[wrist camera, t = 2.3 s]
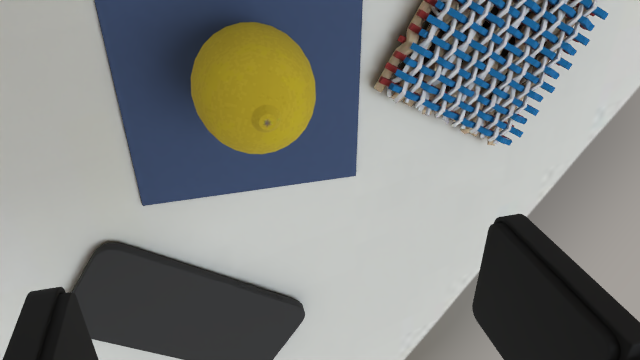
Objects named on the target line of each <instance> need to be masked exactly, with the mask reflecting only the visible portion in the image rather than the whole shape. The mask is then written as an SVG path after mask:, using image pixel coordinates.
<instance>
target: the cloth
mask: <svg viewBox="0 0 640 360" xmlns="http://www.w3.org/2000/svg"><path fill="white" fill-rule="evenodd" d="M94 1H95V5H96V9H97V13H98V18H99V22H100V26H101V30H102V35H103V39H104V43H105V48H106V52H107V56H108V60H109V65H110V69H111V73H112V77H113V82H114V86H115V90H116V94H117V99H118V103H119V107H120V111H121V116H122V120H123V124H124V128H125V133H126V137H127V141H128V145H129V150H130V154H131V158H132V162H133V167H134V171H135V175H136V180H137V184H138V188H139V192H140V197H141V201H142V205H143V206H145V205H152V204H159V203H166V202H173V201H180V200H187V199H194V198H201V197H209V196H216V195H223V194H230V193H237V192H244V191H251V190H258V189H265V188H272V187H279V186H287V185H294V184H301V183H308V182H315V181H322V180H329V179H336V178H343V177H350V176H356V155H357V130H358V104H359V79H360V53H361V27H362V2H363V0H94ZM240 22H257V23H261V24H266V25H270V26H273V27H274V28H276V29H278V30H280V31H282V32H284V33H286V34H287V35H288V36H289V37H290V38H291V39H292V40H294V41H295V42H296V43H297V44H298V45H299V46H300V48H301V49H302V51H303V53H304V54H305V56H306V57H307V59H308V61H309V63H310V65H311V69H312V72H313V75H314V79H315V90H316V101H315V106H314V110H313V115H312V117H311V119H310V121H309V123H308V125H307V127H306V129H305V130H304V131H303V133H302V134H301V135H300V136H299V137H298V138H297V139H296V140H295V141H293V142H292V143H291V144H289V145H288V146H287V147H284V148H282V149H280V150H278V151H275V152H271V153H266V154H248V153H244V152H240V151H236V150H234V149H232V148H230V147H228V146H226V145H224V144H223V143H221V142H220V141H219V140H218V139H217V138H216V137H215V136H213V135H212V134H211V133H210V132H209V131H208V130H207V128H206V127H205V125H204V123H203V122H202V120H201V119H200V117H199V116H198V114H197V112H196V108H195V105H194V102H193V99H192V95H191V73H192V69H193V65H194V61H195V58H196V57H197V55H198V53H199V51H200V49H201V47H202V46H203V44H204V43H205V42H206V41H207V40H208V39H209V38H210V37H211V36H212V35H213V34H215V33H216V32H218V31H220V30H221V29H223V28H225V27H227V26H230V25H233V24H237V23H240Z"/></svg>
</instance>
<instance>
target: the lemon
mask: <svg viewBox="0 0 640 360" xmlns="http://www.w3.org/2000/svg"><path fill="white" fill-rule="evenodd" d="M191 95H192V99H193V102H194V105H195V108H196V112H197V114H198V116H199V117H200V119H201V120H202V122H203V123H204V125H205V127H206V128H207V130H208V131H209V132H210V133H211V134H212V135H213V136H215V137H216V138H217V139H218V140H219V141H220V142H221V143H223V144H224V145H226V146H228V147H230V148H232V149H234V150H236V151H240V152H244V153H248V154H266V153H271V152H275V151H278V150H280V149H282V148H284V147H287V146H288V145H289V144H291V143H292V142H293V141H295V140H296V139H297V138H298V137H299V136H300V135H301V134H302V133H303V131H304V130H305V129H306V127H307V125H308V123H309V121H310V119H311V117H312V115H313V110H314V106H315V101H316V90H315V79H314V75H313V72H312V69H311V65H310V63H309V61H308V59H307V57H306V56H305V54H304V53H303V51H302V49H301V48H300V46H299V45H298V44H297V43H296V42H295V41H294V40H292V39H291V38H290V37H289V36H288V35H287V34H286V33H284V32H282V31H280V30H278V29H276V28H274V27H273V26H270V25H266V24H261V23H257V22H240V23H237V24H233V25H230V26H227V27H225V28H223V29H221V30H220V31H218V32H216V33H215V34H213V35H212V36H211V37H210V38H209V39H208V40H207V41H206V42H205V43H204V44H203V46H202V47H201V49H200V51H199V53H198V55H197V57H196V58H195V61H194V65H193V69H192V73H191Z"/></svg>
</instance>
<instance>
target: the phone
mask: <svg viewBox="0 0 640 360" xmlns="http://www.w3.org/2000/svg"><path fill="white" fill-rule="evenodd" d="M72 292H74V294H75V295H76V297H77V300H78V303H79V306H80V309H81V312H82V314H83V317H84V320H85V323H86V326H87V329H88V332H89V334H90V337H91V339H94V340H99V341H103V342H108V343H112V344H117V345H121V346H126V347H130V348H134V349H139V350H143V351H148V352H152V353H157V354H161V355H166V356H170V357H174V358H179V359H183V360H273V359H274V357H275V356H276V355H277V354H278V352H279V351H280V350H281V348H282V347H283V346H284V345H285V343H286V342H287V341H288V339H289V338H290V337H291V336H292V334H293V333H294V332H295V330H296V329H297V328H298V326H299V325H300V324H301V322H302V321H303V319H304V317H305V312H304V309H303V306H302V304H301V303H300V302H299V301H297V300H295V299H292V298H289V297H286V296H283V295H280V294H276V293H273V292H270V291H267V290H264V289H261V288H258V287H255V286H252V285H249V284H246V283H242V282H239V281H236V280H233V279H230V278H227V277H224V276H221V275H218V274H215V273H212V272H209V271H205V270H202V269H199V268H196V267H193V266H190V265H187V264H184V263H181V262H178V261H175V260H172V259H168V258H165V257H162V256H159V255H156V254H153V253H150V252H147V251H144V250H141V249H138V248H134V247H131V246H128V245H125V244H121V243H106V244H104V245H102V246H100V247H99V248H97V249H96V251H95V252H94V254H93V255H92V257H91V259H90V260H89V262H88V264H87V266H86V268H85V269H84V271H83V273H82V275H81V277H80V278H79V280H78V282H77V284H76V286H75V287H74V289H73V291H72Z"/></svg>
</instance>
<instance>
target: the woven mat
mask: <svg viewBox="0 0 640 360" xmlns="http://www.w3.org/2000/svg"><path fill="white" fill-rule="evenodd" d="M441 1H443V2H446V4H444V3H443V2H441ZM570 1H572V2H571V3H570ZM515 2H516V3H515ZM459 3H460V4H461V6H460V7H459ZM569 3H570V4H569ZM480 4H481V5H480ZM575 5H576V7H577V9H576V10H574V9H573V8H572V7H574V6H575ZM550 6H552V7H553V8H551V9H550V10H549V11H547V10H548V9H549V7H550ZM493 7H496V8H498V14H497V15H494V14H492V13H490V11H491V10H492V8H493ZM436 8H437V9H438V10H440V11H441V12H440V14H439V12H438V11H437V9H436ZM458 8H459V9H458ZM431 10H432V11H433V12H434V14H435V15H436V17H434V16H432V15H430V12H431ZM528 11H530V12H531V14H530V16H529V17H526V14H527V13H528ZM469 14H470V15H469ZM588 15H591V16H594V15H597V16H598V17H600V18H602V19H604V20H605V18H606V17H607V15H608V13H607V12H605V11H604V10H602V9H600V8H599V7H597V0H423V1H422V3H421V5H420V7H419V8H418V10H417V12H416V14H415V15H414V17H413V19H412V21H411V23H410V24H409V26H408V28H407V37H405V36H402V35H400V36H399V38H398V41H399V42H401V43H403V44H402V45H400V46H399V47H397V48H396V49H395V51H394V53H393V54H392V56H391V58H390V60H389V62H387V64H386V65H385V67H384V68H385V69H384V70H383V72H382V74H381V76H380V77H379V79H378V81H377V83H376V84H375V86H374V89H376V90H377V91H379V92H382V91H383V90H384V88H385V87H386V86H387V96H388V97H391V98H392V99H394V100H393V101H394V102H395V103H397V102H399V101H401V100H403V99H404V100H403V101H402V102H404V103H405V104H407V105H408V106H410V107H412V106H413V104H414V103H415V101H417V103H416V104H415V105H414V106H415V108H417V107H419V106H420V107H419V108H418V110H419V111H421V112H422V114H425V115H426V116H429V115H431V112H432V110H434V112H436V114H435V117H436V118H438V117H439V116H442V115H443V116H442V120H444V121H445V124H448V123H449V119H450V120H452V121H455V122H454V123H453V124H452V125H451V126H452V127H456V126H457V125H458V124H460V123H461V124H462V125H461V130H460V131H462V132H463V133H464V134H467V133H470V134H472V135H473V136H475V137H476V136H477V135H478V133H479V132H480V133H481V135H480V137H482V138H484V136H485V135H486V136H488V145H495V144H497V143H498V141H499V142H501V143H504V144H507V145H510V144H511V142H512V140H511V139H509V138H507V137H505V136H503V135H504V134H505V133H507V132H508V131H509V132H511V133H513V134H515V135H516V136H518V137H521V135H522V134H523V132H522V131H520V130H518V129H516V128H514V125H512V121H513V120H515V121H517V122H520V123H522V124H525V123H526V121H527V119H526V118H524V117H523V116H521V115H519V114H517V113H519V112H520V111H522V110H523V109H524V110H526V111H528V112H529V113H531V114H533V115H535V116H536V114H537V113H538V111H539V110H537V109H535V108H533V107H532V106H530V105H528V104H527V102H528V97H531V98H533V99H535V100H536V101H538V102H541V100H542V99H543V97H542V96H541V95H539V94H537V93H535V92H533V91H534V90H535V89H537V88H538V87H541V88H543V89H545V90H547V91H548V92H550V93H552V92H553V91H554V89H555V87H553V86H551V85H549V84H548V83H546V82H544V76H545V74H547V75H548V76H550V77H552V78H554V79H557V78H558V77H559V74H558V73H557V72H556V71H554V70H553V69H552V68H550V67H551V66H552V65H554V64H555V63H556V64H557V65H559V66H560V65H561V66H562V67H564V68H566V69H568V70H569V69H570V67H571V66H572V64H571V63H569V62H568V61H566V60H564V59H563V58H561V53H562V51H564V52H565V53H567V54H570V55H573V56H574V54H575V53H576V50H575V49H574V48H573V47H572V46H571V45H570V44H568V42H569V41H571V40H574V41H575V42H580V43H582V44H583V45H585V46H586V45H587V43H588V42H589V39H587V38H586V37H584V36H583V35H581V34H579V33H578V31H579V26H580V27H582V28H583V29H586V30H588V31H591V30H592V29H593V28H594V25H593V24H592V23H591V22H590V21H589V19H588V18H586V17H587V16H588ZM468 16H469V19H468V18H467V17H468ZM565 16H566V18H565ZM541 19H542V24H541V27H540V26H539V24H538V23H539V22H540V20H541ZM485 20H486V21H487V22H489V23H490V24H491V25H490V27H488V28H487V29H485V28H484V27H482V24H483V23H484V21H485ZM425 21H427V22H429V23H430V25H429V26H428V28H427V30H424V29H422V28H421V27H422V26H423V24H424V22H425ZM450 21H451V22H450ZM449 22H450V24H449V25H448V23H449ZM520 24H522V25H523V26H522V28H521V29H520V31H519V30H518V29H517V28H518V27H519V25H520ZM463 25H464V26H463ZM574 25H575V27H574V29H573V26H574ZM462 26H463V27H462ZM461 27H462V28H461ZM466 29H467V36H466V35H465V34H463V32H464V31H465V30H466ZM440 30H443V31H444V34H443V36H442V37H441V38H438V37H437V35H438V33H439V31H440ZM532 32H535V34H534V35H533V36H532V37H530V36H531V34H532ZM479 34H480V37H479ZM419 35H420V36H422V38H421V40H420V42H419V44H418V40H419ZM566 36H568V37H566ZM511 37H514V38H516V39H515V44H514V45H512V44H510V43H508V42H509V40H510V39H511ZM458 40H460V41H461V42H462V43H461V44H459V45H458ZM545 41H548V43H547V45H546V46H545V47H544V43H545ZM452 42H453V43H452ZM432 43H434V44H436V45H435V49H434V51H433V52H432V51H430V50H429V48H430V47H431V45H432ZM451 44H452V45H451ZM488 44H489V47H488V48H486V47H487V46H488ZM457 45H458V46H457ZM504 49H505V50H506V51H508V55H507V56H506V57H504V58H503V57H501V56H500V54H501V53H502V51H503V50H504ZM556 50H557V53H555V52H556ZM447 51H448V52H447ZM446 52H447V53H446ZM411 53H413V54H412V55H411V57H409V55H410V54H411ZM468 53H469V54H468ZM538 53H540V54H539V56H538V57H537V59H534V58H535V55H536V54H538ZM482 54H484V55H483V56H482V57H481V55H482ZM424 57H427V58H429V59H430V60H429V61H428V62H426V63H425V64H423V59H424ZM446 59H447V60H446ZM462 59H463V60H464V62H463V63H462V65H461V62H462ZM485 59H486V64H484V63H483V61H484V60H485ZM550 60H551V61H550ZM402 61H403V62H404V63H405V64H406V65H405V67H404V69H403V70H402V69H400V68H398V67H399V65H400V63H401V62H402ZM549 61H550V62H549ZM548 62H549V63H548ZM547 63H548V64H547ZM530 65H531V66H533V70H532V73H529V72H527V69H528V68H529V66H530ZM478 68H479V69H481V70H482V71H480V72H478V73H477V70H478ZM508 70H509V71H508ZM418 71H420V73H419V77H416V76H414V75H415V74H416V73H417V72H418ZM471 71H472V73H470V72H471ZM507 71H508V75H507V76H505V74H506V72H507ZM394 73H395V74H394ZM393 74H394V75H396V76H398V77H397V78H395V79H392V80H390V79H391V77H392V76H393ZM453 77H454V78H453ZM522 77H524V78H525V79H527V81H526V82H524V83H522V84H519V82H520V80H521V79H522ZM451 78H453V79H451ZM466 79H468V80H467V81H466V82H465V80H466ZM399 81H400V83H397V82H399ZM499 81H502V82H503V83H502V84H501V85H499V86H498V87H496V86H497V84H498V83H499ZM464 82H465V83H464ZM411 84H413V85H412V87H411ZM446 85H448V86H450V91H449V92H446V91H445V89H446ZM481 87H482V88H481ZM480 88H481V90H480ZM502 88H503V90H502ZM391 90H392V91H395V92H394V94H393V95H392V96H391ZM491 93H493V95H492V99H489V96H490V95H491ZM420 94H421V95H420ZM497 96H498V97H497ZM441 98H442V99H443V100H442V101H440V102H439V104H438V103H436V102H437V101H438V100H439V99H441ZM523 98H524V99H523ZM522 99H523V101H522ZM471 104H472V105H471ZM484 105H487V107H485V108H484V109H483V107H484ZM517 106H518V107H519V108H517ZM516 108H517V109H516ZM482 109H483V110H482ZM515 109H516V110H515ZM466 111H469V115H468V116H465V112H466ZM495 112H496V114H495V117H494V116H493V114H494V113H495ZM488 121H490V122H491V123H490V124H489V125H487V126H486V127H485V124H486V123H487V122H488ZM507 121H508V123H507ZM502 129H504V130H502ZM501 130H502V131H501Z"/></svg>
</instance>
